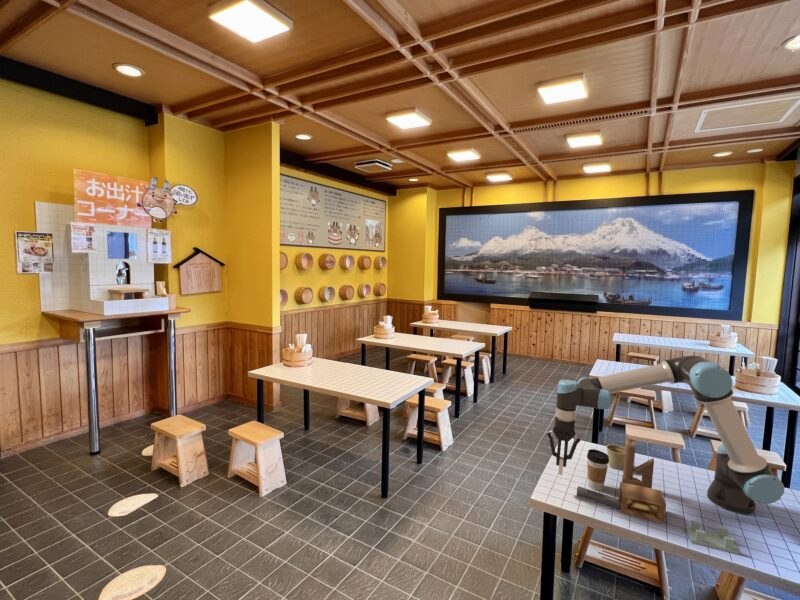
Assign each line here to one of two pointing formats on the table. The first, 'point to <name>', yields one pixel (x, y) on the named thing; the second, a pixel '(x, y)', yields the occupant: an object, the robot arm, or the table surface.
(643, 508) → the gold metallic block
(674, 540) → the table surface
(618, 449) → the flower pot
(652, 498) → the box
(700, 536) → the cradle
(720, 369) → the robot arm
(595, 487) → the coffee cup
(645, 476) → the wooden bracket
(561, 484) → the table surface
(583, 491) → the drift bar
